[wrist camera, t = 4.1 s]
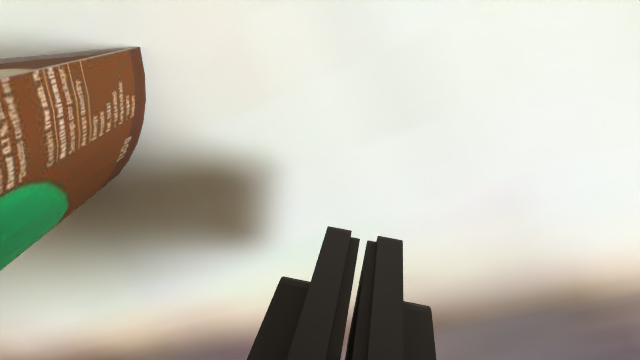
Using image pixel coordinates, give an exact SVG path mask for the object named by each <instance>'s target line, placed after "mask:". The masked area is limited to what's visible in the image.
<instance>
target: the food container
mask: <svg viewBox="0 0 640 360" xmlns="http://www.w3.org/2000/svg"><path fill="white" fill-rule="evenodd" d="M145 102H146V93H145V73H144V68H143V62H142V57H141V51H140V47H133V48H121V49H110V50H99V51H87V52H76V53H65V54H54V55H42V56H31V57H20V58H8V59H0V270H2V269H3V268H4V267H5V266H6V265H8V264H9V263H10V262H11V261H13V260H14V259H15V258H16V257H18V256H19V255H20V254H21V253H22V252H24V251H25V250H26V249H27V248H29V247H30V246H31V245H32V244H34V243H35V242H36V241H37V240H38V239H40V238H41V237H42V236H43V235H45V234H46V233H47V232H48V231H50V230H51V229H52V228H53V227H54V226H56V225H57V224H58V223H59V222H61V221H62V220H63V219H64V218H65V217H67V216H68V215H69V214H70V213H72V212H73V211H74V210H75V209H77V208H78V207H79V206H80V205H81V204H83V203H84V202H85V201H86V200H88V199H89V198H90V197H91V196H93V195H94V194H95V193H96V192H97V191H99V190H100V189H101V188H102V187H104V186H105V185H106V184H107V183H108V182H110V181H111V180H112V179H113V178H114V177H115V176H117V175H118V174H119V172H120V171H121V170H122V168H123V167H124V166H125V164H126V163H127V162H128V161H129V159H130V157H131V155H132V153H133V151H134V149H135V147H136V145H137V143H138V139H139V136H140V132H141V129H142V125H143V120H144V111H145Z"/></svg>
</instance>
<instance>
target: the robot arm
mask: <svg viewBox="0 0 640 360" xmlns="http://www.w3.org/2000/svg"><path fill="white" fill-rule="evenodd" d="M359 241H360V239H358V238H353V237H351V231H350V230H345V229H340V228H334V227H329V226H328V228H327V231H326V234H325V237H324V241H323V244H322V247H321V250H320V254H319V257H318V260H317V263H316V267H315V270H314V273H313V276H312V280H311V282H308V281H303V280H298V279H293V278H288V277H282V278H281V279H280V281H279V284H278V286H277V288H276V291H275V293H274V296H273V298H272V300H271V303H270V305H269V308H268V310H267V312H266V315H265V317H264V320H263V322H262V324H261V327H260V329H259V332H258V334H257V336H256V339H255V341H254V344H253V346H252V349H251V351H250V353H249V356H248V358H247V360H340V358H341V352H342V346H343V340H344V334H345V327H346V321H347V315H348V309H349V303H350V297H351V290H352V284H353V278H354V272H355V266H356V260H357V253H358V247H359ZM345 360H436V352H435V342H434V332H433V322H432V313H431V308H430V307H429V306H425V305H420V304H415V303H410V302H405V301H403V241H402V240H397V239H392V238H387V237H381V236H378V238H377V242H373V241H367V245H366V250H365V255H364V260H363V266H362V271H361V276H360V281H359V286H358V291H357V297H356V302H355V307H354V312H353V317H352V322H351V328H350V333H349V338H348V344H347V351H346V357H345Z"/></svg>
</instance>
